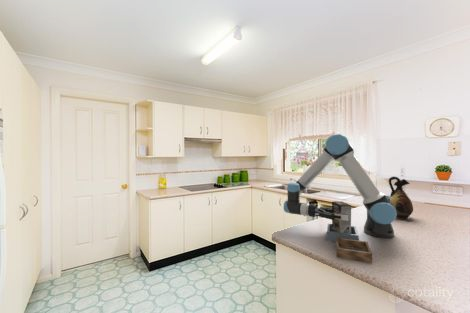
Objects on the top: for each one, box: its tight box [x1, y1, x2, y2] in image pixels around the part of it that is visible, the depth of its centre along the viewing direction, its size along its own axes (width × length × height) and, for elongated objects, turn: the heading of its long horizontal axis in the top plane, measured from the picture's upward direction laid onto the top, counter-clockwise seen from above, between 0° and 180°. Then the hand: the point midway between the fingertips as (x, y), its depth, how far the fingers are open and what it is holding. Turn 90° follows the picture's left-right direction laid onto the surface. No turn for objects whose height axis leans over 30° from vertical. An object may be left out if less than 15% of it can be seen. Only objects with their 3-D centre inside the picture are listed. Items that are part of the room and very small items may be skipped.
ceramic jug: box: [388, 176, 414, 220], centre depth 158 cm, size 17×15×30 cm
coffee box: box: [331, 200, 352, 234], centre depth 122 cm, size 9×6×16 cm
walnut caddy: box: [335, 238, 373, 264], centre depth 103 cm, size 14×14×4 cm
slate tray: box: [326, 223, 360, 243], centre depth 122 cm, size 15×15×5 cm
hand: (349, 215), depth 119 cm, fingers closed on coffee box, 10 cm apart
